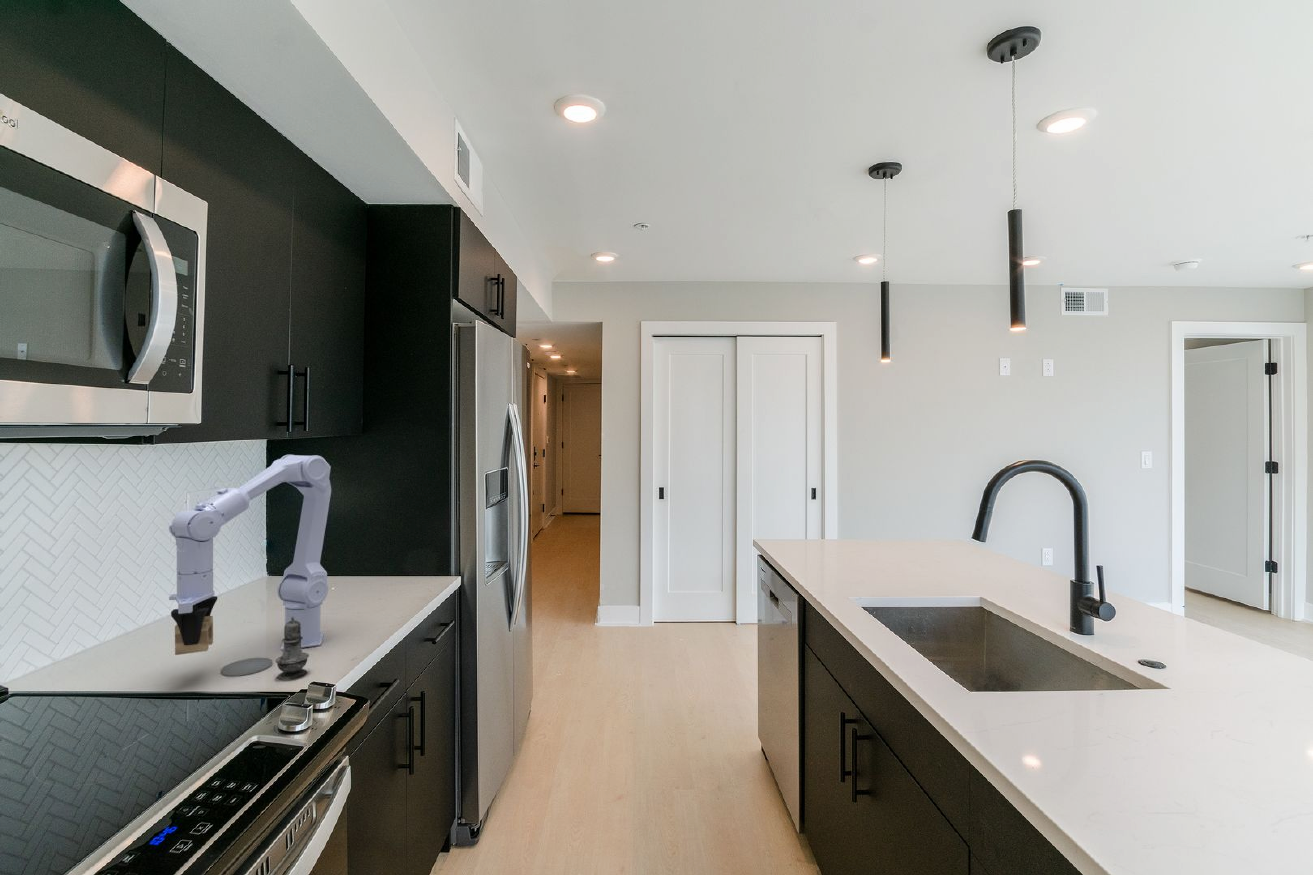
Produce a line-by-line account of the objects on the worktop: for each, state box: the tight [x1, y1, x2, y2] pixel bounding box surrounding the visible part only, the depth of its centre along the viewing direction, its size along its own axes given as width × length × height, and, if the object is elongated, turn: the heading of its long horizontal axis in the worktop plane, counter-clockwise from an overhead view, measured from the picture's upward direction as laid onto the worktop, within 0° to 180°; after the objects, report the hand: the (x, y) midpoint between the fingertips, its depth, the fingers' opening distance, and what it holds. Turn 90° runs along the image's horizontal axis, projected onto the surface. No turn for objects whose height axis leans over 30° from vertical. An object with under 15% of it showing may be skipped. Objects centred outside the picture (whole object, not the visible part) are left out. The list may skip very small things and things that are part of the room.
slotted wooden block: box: [174, 615, 214, 656], centre depth 118 cm, size 5×5×6 cm
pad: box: [220, 657, 274, 677], centre depth 125 cm, size 9×9×1 cm
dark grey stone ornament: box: [275, 617, 310, 681], centre depth 122 cm, size 6×6×12 cm
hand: (195, 639), depth 118 cm, fingers closed on slotted wooden block, 5 cm apart
